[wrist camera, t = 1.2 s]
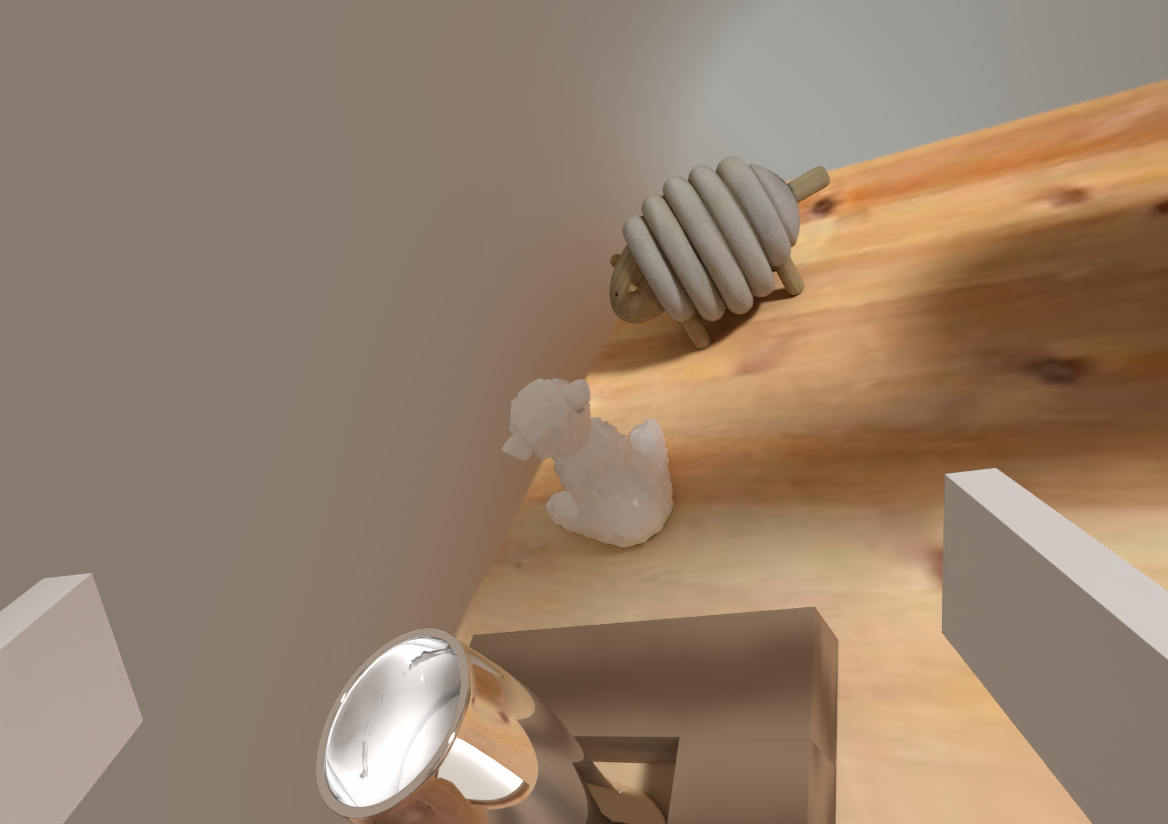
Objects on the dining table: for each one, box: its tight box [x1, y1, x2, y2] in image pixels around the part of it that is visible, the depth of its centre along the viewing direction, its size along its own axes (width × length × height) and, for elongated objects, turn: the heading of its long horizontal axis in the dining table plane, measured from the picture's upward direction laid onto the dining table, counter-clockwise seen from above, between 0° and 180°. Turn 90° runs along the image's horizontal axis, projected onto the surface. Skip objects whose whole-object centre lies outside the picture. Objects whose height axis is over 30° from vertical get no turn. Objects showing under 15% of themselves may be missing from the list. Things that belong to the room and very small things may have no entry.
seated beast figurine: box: [502, 378, 674, 548], centre depth 46 cm, size 10×9×12 cm
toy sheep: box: [610, 156, 830, 349], centre depth 54 cm, size 11×17×11 cm, turn 103°
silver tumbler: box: [316, 628, 667, 824], centre depth 31 cm, size 7×7×15 cm
